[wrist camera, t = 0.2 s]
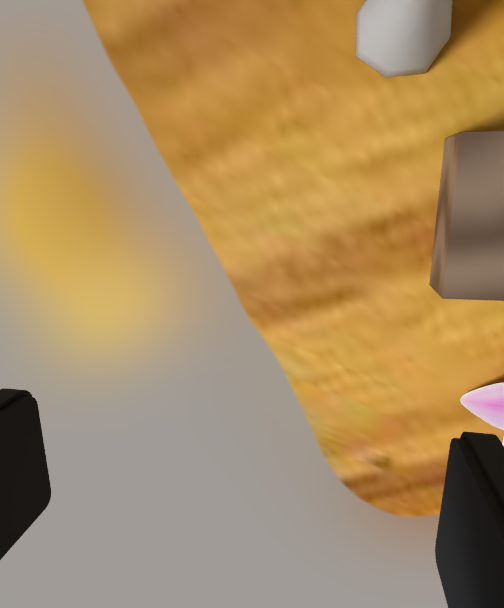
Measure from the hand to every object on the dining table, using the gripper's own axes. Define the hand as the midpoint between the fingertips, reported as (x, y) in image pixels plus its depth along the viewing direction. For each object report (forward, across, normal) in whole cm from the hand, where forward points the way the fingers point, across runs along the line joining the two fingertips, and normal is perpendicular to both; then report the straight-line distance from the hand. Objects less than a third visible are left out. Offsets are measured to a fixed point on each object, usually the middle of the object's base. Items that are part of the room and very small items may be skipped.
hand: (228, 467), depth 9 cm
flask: (+31, -7, -17) cm, 36 cm away
